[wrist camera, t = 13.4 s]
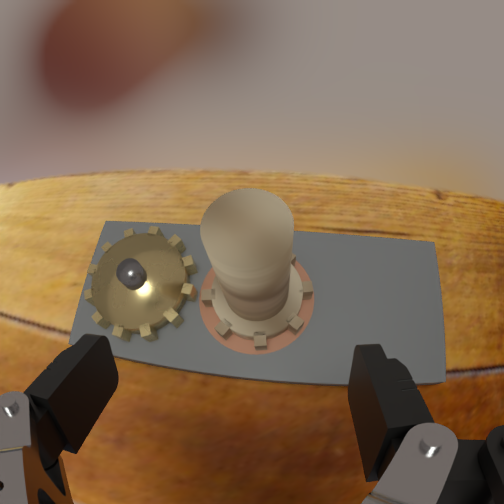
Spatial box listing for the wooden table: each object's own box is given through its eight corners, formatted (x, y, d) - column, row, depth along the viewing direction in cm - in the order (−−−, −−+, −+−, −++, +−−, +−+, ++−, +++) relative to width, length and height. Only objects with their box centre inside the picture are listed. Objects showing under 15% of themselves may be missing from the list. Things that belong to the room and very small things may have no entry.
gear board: (427, 250, 26) (434, 241, 25) (437, 384, 21) (446, 381, 20) (112, 229, 30) (105, 220, 29) (77, 347, 24) (68, 343, 23)
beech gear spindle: (253, 234, 27) (241, 144, 18) (331, 291, 24) (361, 216, 15) (185, 303, 24) (135, 235, 15) (263, 372, 21) (253, 342, 13)
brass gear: (149, 217, 28) (138, 197, 26) (223, 280, 25) (216, 263, 22) (75, 289, 25) (57, 275, 23) (138, 367, 22) (121, 361, 19)
